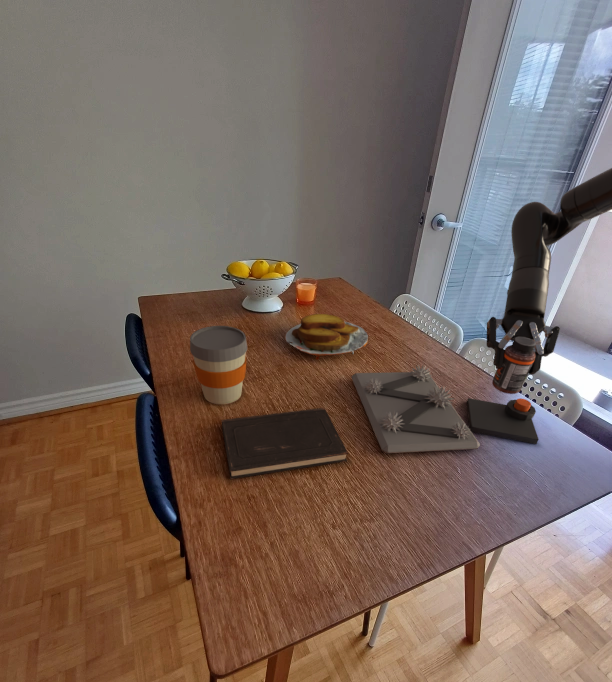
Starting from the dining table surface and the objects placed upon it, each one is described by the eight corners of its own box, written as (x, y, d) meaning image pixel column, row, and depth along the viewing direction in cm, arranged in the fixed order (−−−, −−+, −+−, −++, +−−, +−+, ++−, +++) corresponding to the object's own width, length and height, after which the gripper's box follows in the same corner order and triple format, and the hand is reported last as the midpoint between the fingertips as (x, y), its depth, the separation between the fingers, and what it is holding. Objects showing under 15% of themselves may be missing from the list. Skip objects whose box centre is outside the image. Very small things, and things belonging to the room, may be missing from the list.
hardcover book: (346, 461, 79) (348, 452, 78) (230, 479, 74) (229, 470, 72) (323, 414, 92) (323, 406, 90) (221, 426, 86) (221, 418, 85)
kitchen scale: (527, 412, 97) (532, 402, 95) (539, 444, 87) (544, 434, 85) (466, 401, 99) (469, 391, 98) (470, 431, 89) (474, 421, 88)
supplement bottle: (489, 378, 89) (506, 332, 82) (516, 382, 88) (537, 336, 82) (493, 392, 84) (512, 345, 78) (523, 397, 84) (545, 349, 77)
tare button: (526, 405, 94) (529, 399, 93) (529, 413, 92) (532, 407, 91) (512, 403, 95) (515, 397, 94) (514, 410, 92) (517, 404, 91)
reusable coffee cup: (255, 403, 94) (254, 345, 85) (201, 413, 89) (194, 354, 81) (241, 376, 103) (238, 322, 94) (192, 384, 99) (184, 328, 90)
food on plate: (327, 372, 107) (329, 350, 103) (268, 339, 121) (268, 319, 117) (384, 345, 122) (387, 325, 118) (325, 319, 136) (327, 300, 132)
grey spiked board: (349, 379, 105) (353, 355, 100) (427, 377, 108) (433, 354, 103) (382, 457, 81) (388, 430, 77) (480, 452, 84) (491, 426, 80)
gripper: (497, 282, 82) (484, 359, 79) (572, 292, 79) (562, 372, 77) (486, 298, 89) (474, 369, 87) (555, 307, 87) (544, 381, 84)
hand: (515, 370), depth 82 cm, fingers closed on supplement bottle, 6 cm apart
